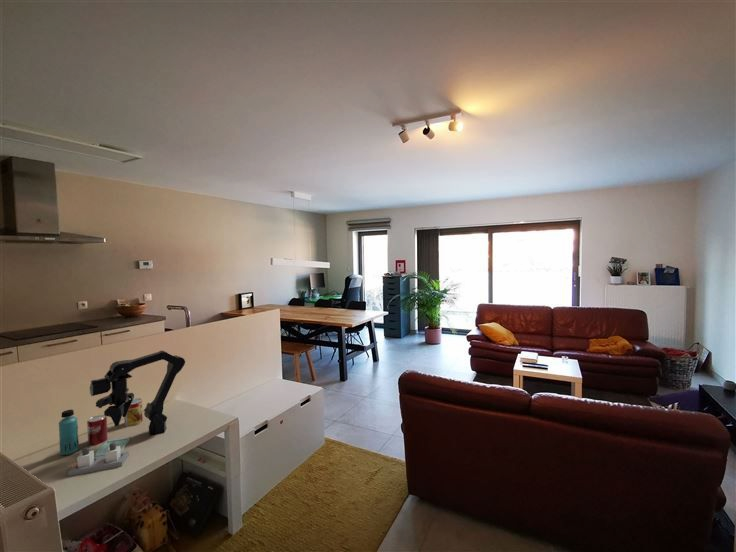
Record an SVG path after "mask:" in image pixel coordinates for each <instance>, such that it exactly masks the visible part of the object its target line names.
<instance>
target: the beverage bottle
mask: <svg viewBox="0 0 736 552" xmlns="http://www.w3.org/2000/svg"><path fill="white" fill-rule="evenodd" d="M74 414H75V413H74V409H66V410H64V411H62V412H61V418H62V419H60V420H59V422H58V433H59V434H58V435H59V441H58V442H59V443H58V444H59V454H60V455H62V456H66V455H71V454H72V453H75V452H77V450H79V446H80V445H79V442H80V441H79V425H78V418H77V417H76V416H73V415H74Z"/></svg>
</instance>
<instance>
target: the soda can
mask: <svg viewBox="0 0 736 552" xmlns="http://www.w3.org/2000/svg"><path fill="white" fill-rule="evenodd" d="M86 425H87V427H86V428H87V429H86V430H87V431H86V433H87V444H88V446H97V445H101V444H104V443H105V441H108V437H109V436H108V416H104V414H99V415H95V416H91V417H90V418H88V420H87V421H86Z"/></svg>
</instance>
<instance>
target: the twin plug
mask: <svg viewBox="0 0 736 552" xmlns="http://www.w3.org/2000/svg"><path fill="white" fill-rule="evenodd" d="M94 455H95V450H93V449H92V450H90V446H85V447H83V448H82V449H81V453H79V455H78V456H77V458H76V459H77V461H78V468H82V467H87V466H91V465H92V464H93V463H94Z"/></svg>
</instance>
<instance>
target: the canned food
mask: <svg viewBox="0 0 736 552" xmlns="http://www.w3.org/2000/svg"><path fill="white" fill-rule="evenodd" d="M143 419H144V418H143V400H142V398H139V397H137V398H135V397H134V399H133V401H132V403H131V406H130V408H129V410H128V412H127V415H126V417H123V420H124V426H125V427H128V428H129V427H135V426H137V425H140V424H141V423H142V422H143Z"/></svg>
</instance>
